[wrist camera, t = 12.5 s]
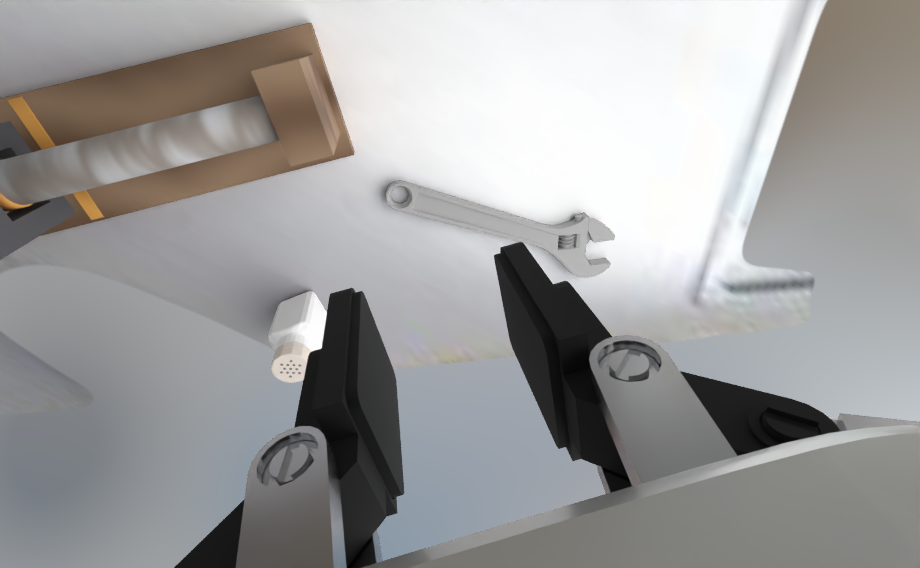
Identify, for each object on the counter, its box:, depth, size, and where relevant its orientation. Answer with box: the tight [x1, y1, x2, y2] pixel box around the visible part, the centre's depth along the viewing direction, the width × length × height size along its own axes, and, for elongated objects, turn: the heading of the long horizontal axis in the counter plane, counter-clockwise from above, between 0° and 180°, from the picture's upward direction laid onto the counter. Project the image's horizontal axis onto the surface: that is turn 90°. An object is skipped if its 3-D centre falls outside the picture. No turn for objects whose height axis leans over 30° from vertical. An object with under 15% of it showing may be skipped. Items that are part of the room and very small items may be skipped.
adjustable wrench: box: [386, 180, 615, 277], centre depth 44 cm, size 25×6×2 cm, turn 66°
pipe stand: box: [0, 23, 354, 236], centre depth 32 cm, size 10×32×9 cm, turn 102°
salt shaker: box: [268, 291, 327, 383], centre depth 42 cm, size 4×4×10 cm
